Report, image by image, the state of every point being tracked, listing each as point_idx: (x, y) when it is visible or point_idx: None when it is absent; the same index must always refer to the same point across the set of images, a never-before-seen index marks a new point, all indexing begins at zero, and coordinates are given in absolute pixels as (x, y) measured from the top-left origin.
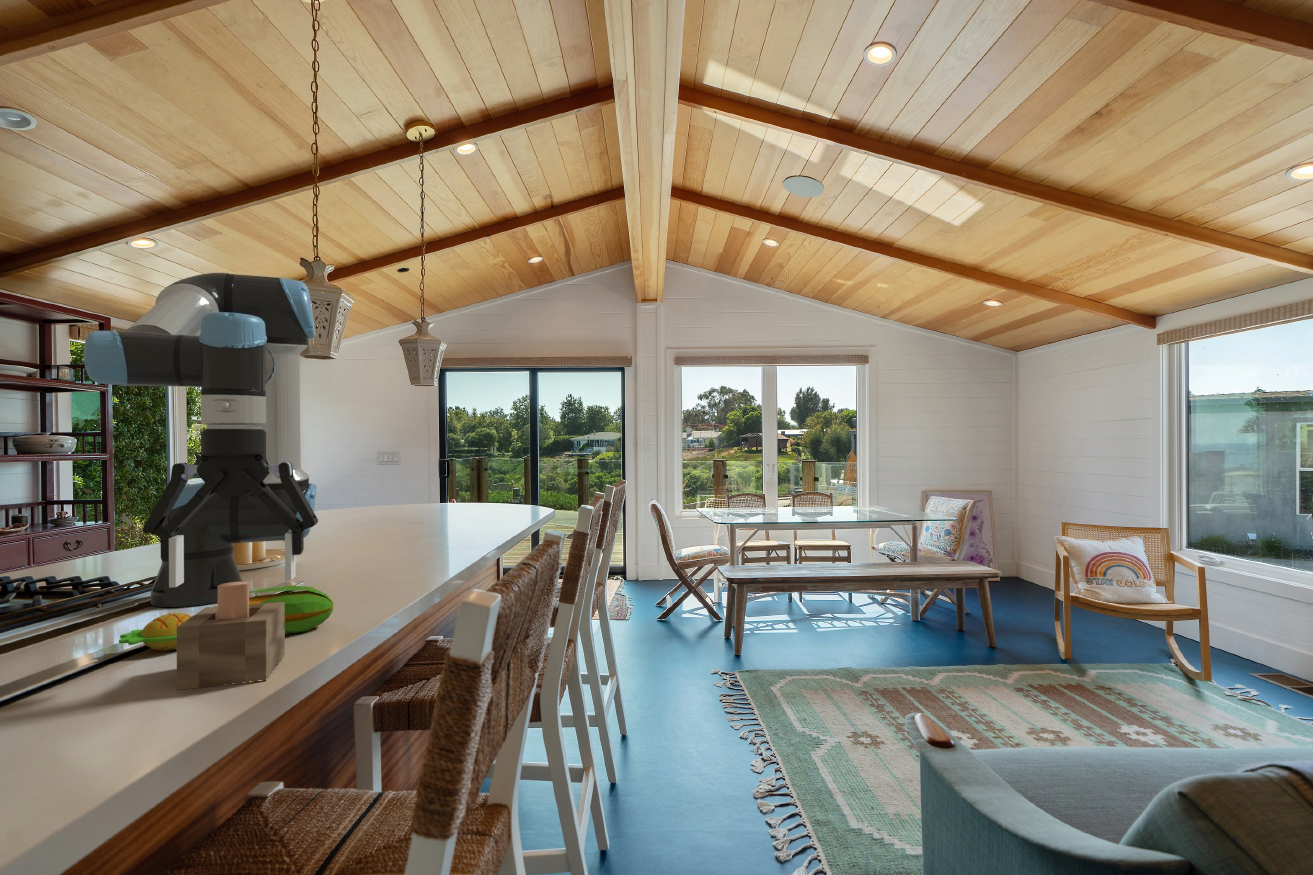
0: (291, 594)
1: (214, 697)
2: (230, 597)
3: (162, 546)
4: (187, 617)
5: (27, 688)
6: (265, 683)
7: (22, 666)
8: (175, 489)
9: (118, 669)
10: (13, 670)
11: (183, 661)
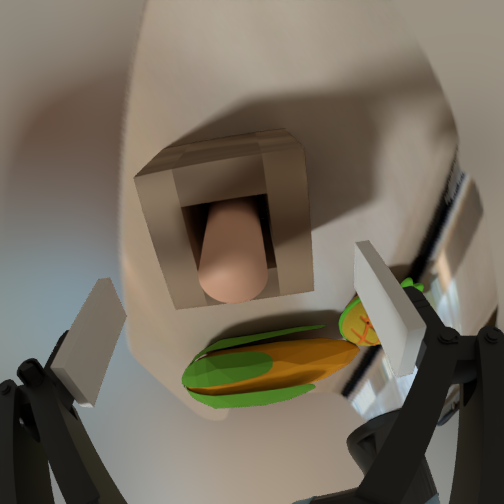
0: (234, 391)
1: (208, 88)
2: (224, 234)
3: (431, 313)
4: (360, 332)
5: (466, 184)
6: (158, 138)
7: (486, 259)
8: (482, 497)
9: (401, 232)
10: (490, 248)
11: (281, 136)
